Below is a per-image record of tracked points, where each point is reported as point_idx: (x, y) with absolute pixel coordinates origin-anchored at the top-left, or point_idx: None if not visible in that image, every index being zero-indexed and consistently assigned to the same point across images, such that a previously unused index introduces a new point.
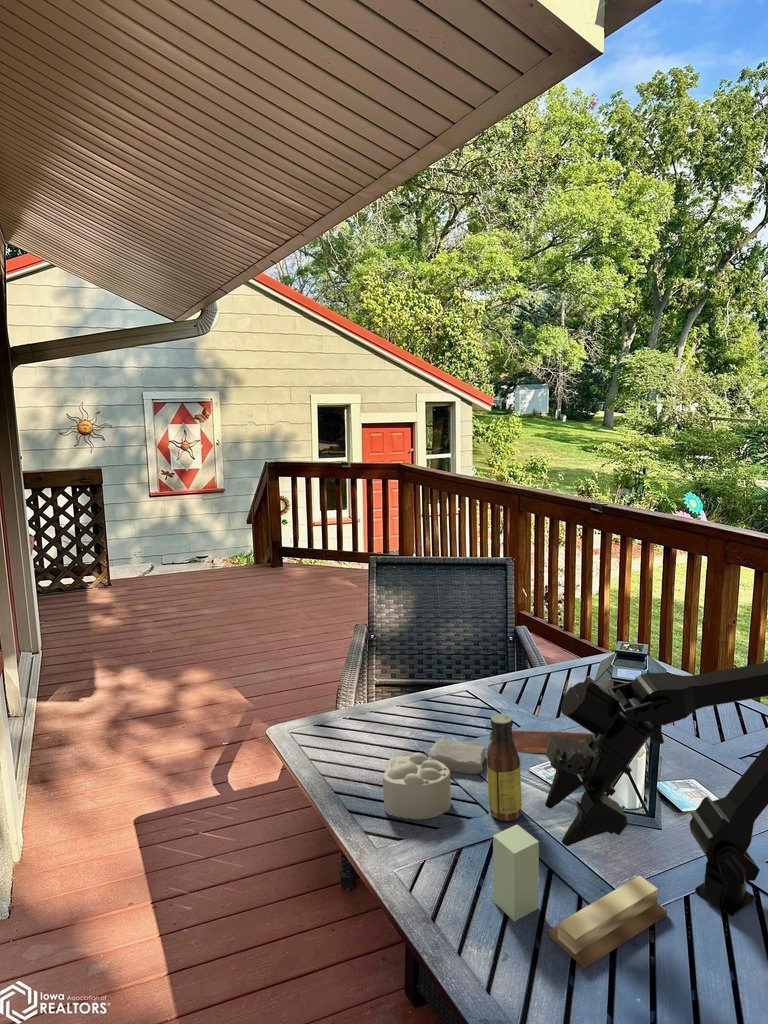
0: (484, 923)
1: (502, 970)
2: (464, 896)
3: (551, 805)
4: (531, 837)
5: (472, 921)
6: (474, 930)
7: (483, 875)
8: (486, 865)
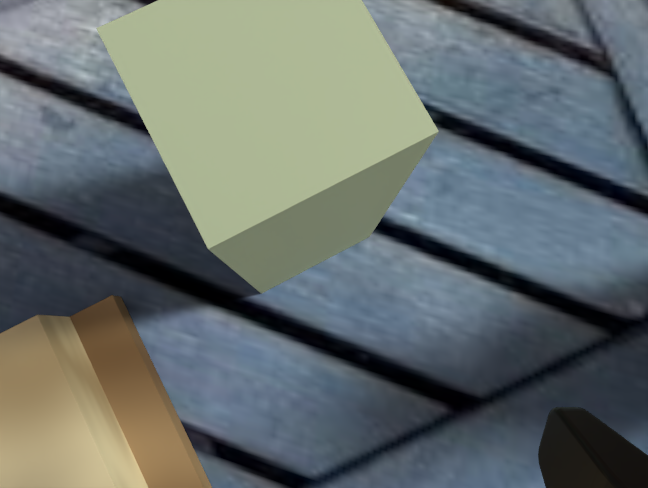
0: None
1: (3, 99)
2: None
3: (557, 479)
4: (262, 202)
5: None
6: None
7: (451, 126)
8: (506, 148)
